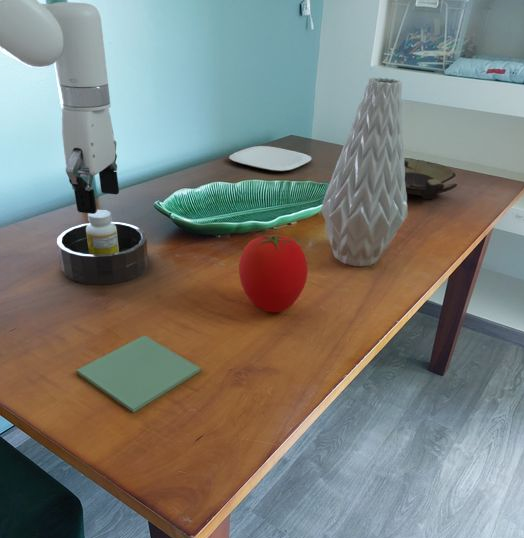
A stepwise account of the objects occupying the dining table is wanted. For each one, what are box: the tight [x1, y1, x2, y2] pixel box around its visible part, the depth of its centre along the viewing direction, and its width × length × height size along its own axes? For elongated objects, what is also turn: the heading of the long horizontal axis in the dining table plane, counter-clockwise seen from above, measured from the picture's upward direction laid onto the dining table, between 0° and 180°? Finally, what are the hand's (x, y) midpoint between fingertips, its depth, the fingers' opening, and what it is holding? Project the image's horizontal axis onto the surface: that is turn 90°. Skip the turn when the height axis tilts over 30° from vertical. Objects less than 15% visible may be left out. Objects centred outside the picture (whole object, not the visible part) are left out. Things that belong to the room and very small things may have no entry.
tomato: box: [238, 232, 308, 313], centre depth 87 cm, size 11×11×13 cm
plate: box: [228, 145, 312, 172], centre depth 161 cm, size 22×22×2 cm
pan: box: [56, 221, 149, 286], centre depth 99 cm, size 16×16×6 cm
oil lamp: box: [404, 157, 458, 200], centre depth 143 cm, size 22×30×8 cm
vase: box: [320, 77, 409, 268], centre depth 100 cm, size 17×17×33 cm
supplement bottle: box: [86, 209, 119, 255], centre depth 97 cm, size 5×5×10 cm
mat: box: [76, 335, 201, 413], centre depth 74 cm, size 12×12×1 cm
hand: (99, 202), depth 94 cm, fingers open, 9 cm apart
